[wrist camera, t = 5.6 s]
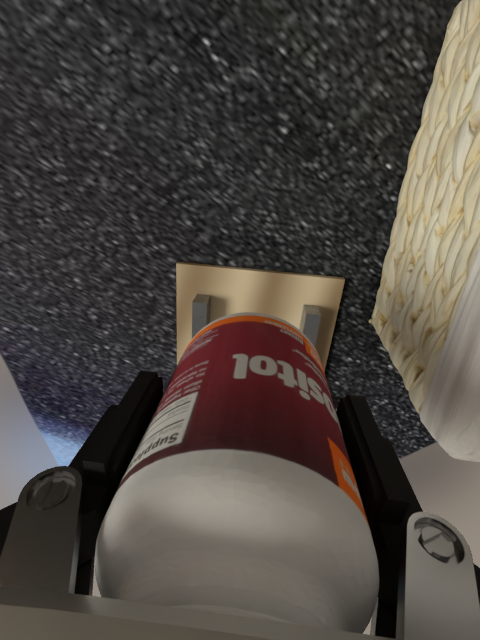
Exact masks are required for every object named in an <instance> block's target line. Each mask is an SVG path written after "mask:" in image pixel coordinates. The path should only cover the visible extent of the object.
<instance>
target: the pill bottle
mask: <svg viewBox="0 0 480 640" xmlns="http://www.w3.org/2000/svg"><path fill="white" fill-rule="evenodd" d="M94 562H95V573H96V580H97V584H98V588H99V591H100V594H101V597H103V598H111V599H118V600H126V601H133V602H140V603H148V604H155V605H163V606H170V607H178V608H185V609H192V610H199V611H206V612H213V613H220V614H228V615H235V616H242V617H249V618H256V619H263V620H270V621H277V622H284V623H291V624H298V625H305V626H312V627H318V628H325V629H332V630H339V631H346V632H352V633H359V634H363V632H364V630H365V629H366V627H367V625H368V624H369V622H370V619H371V617H372V615H373V612H374V610H375V606H376V602H377V597H378V591H379V568H378V560H377V555H376V550H375V547H374V543H373V540H372V535H371V531H370V528H369V524H368V521H367V517H366V514H365V511H364V508H363V504H362V500H361V497H360V494H359V490H358V487H357V483H356V480H355V477H354V473H353V470H352V466H351V463H350V460H349V456H348V453H347V449H346V446H345V442H344V439H343V435H342V431H341V428H340V424H339V420H338V417H337V414H336V411H335V407H334V404H333V401H332V397H331V394H330V391H329V387H328V383H327V380H326V377H325V373H324V369H323V366H322V363H321V360H320V358H319V355H318V353H317V351H316V349H315V347H314V346H313V344H312V343H311V342H310V340H309V339H308V338H307V337H306V335H304V334H303V333H302V332H301V331H300V330H299V329H298V328H296V327H295V326H293V325H292V324H290V323H289V322H287V321H285V320H283V319H280V318H277V317H274V316H271V315H267V314H262V313H254V312H245V313H236V314H231V315H227V316H223V317H221V318H219V319H216V320H215V321H213V322H211V323H209V324H208V325H206V326H205V327H204V328H202V329H201V330H200V331H199V332H198V333H197V334H196V335H195V336H194V337H193V339H192V340H191V341H190V343H189V344H188V346H187V348H186V349H185V351H184V353H183V355H182V357H181V359H180V361H179V363H178V365H177V367H176V369H175V371H174V373H173V375H172V378H171V380H170V382H169V384H168V386H167V388H166V390H165V392H164V394H163V396H162V398H161V400H160V403H159V405H158V407H157V409H156V411H155V413H154V415H153V417H152V419H151V421H150V423H149V426H148V428H147V430H146V432H145V434H144V436H143V438H142V440H141V442H140V443H139V446H138V448H137V450H136V452H135V454H134V456H133V458H132V460H131V462H130V464H129V466H128V468H127V471H126V473H125V475H124V476H123V478H122V480H121V482H120V484H119V487H118V489H117V491H116V493H115V495H114V497H113V500H112V502H111V504H110V506H109V508H108V510H107V513H106V515H105V517H104V519H103V522H102V524H101V527H100V530H99V533H98V537H97V542H96V550H95V561H94Z"/></svg>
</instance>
